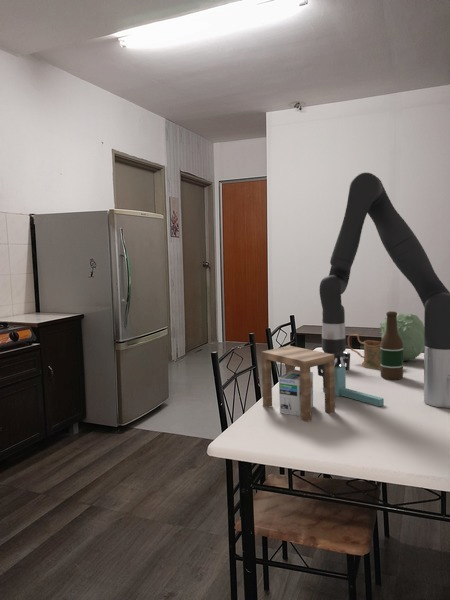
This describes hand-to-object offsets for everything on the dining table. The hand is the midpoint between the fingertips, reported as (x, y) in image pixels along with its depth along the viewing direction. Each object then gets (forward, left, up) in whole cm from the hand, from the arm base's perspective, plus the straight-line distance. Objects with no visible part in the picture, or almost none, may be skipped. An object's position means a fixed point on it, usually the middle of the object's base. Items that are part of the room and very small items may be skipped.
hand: (334, 386), depth 154 cm
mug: (+15, -39, -2) cm, 42 cm away
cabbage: (+10, -55, -2) cm, 56 cm away
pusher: (-8, 0, -2) cm, 8 cm away
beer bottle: (-2, -29, -2) cm, 29 cm away
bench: (-3, +20, -2) cm, 20 cm away
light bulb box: (-3, +20, -2) cm, 21 cm away
